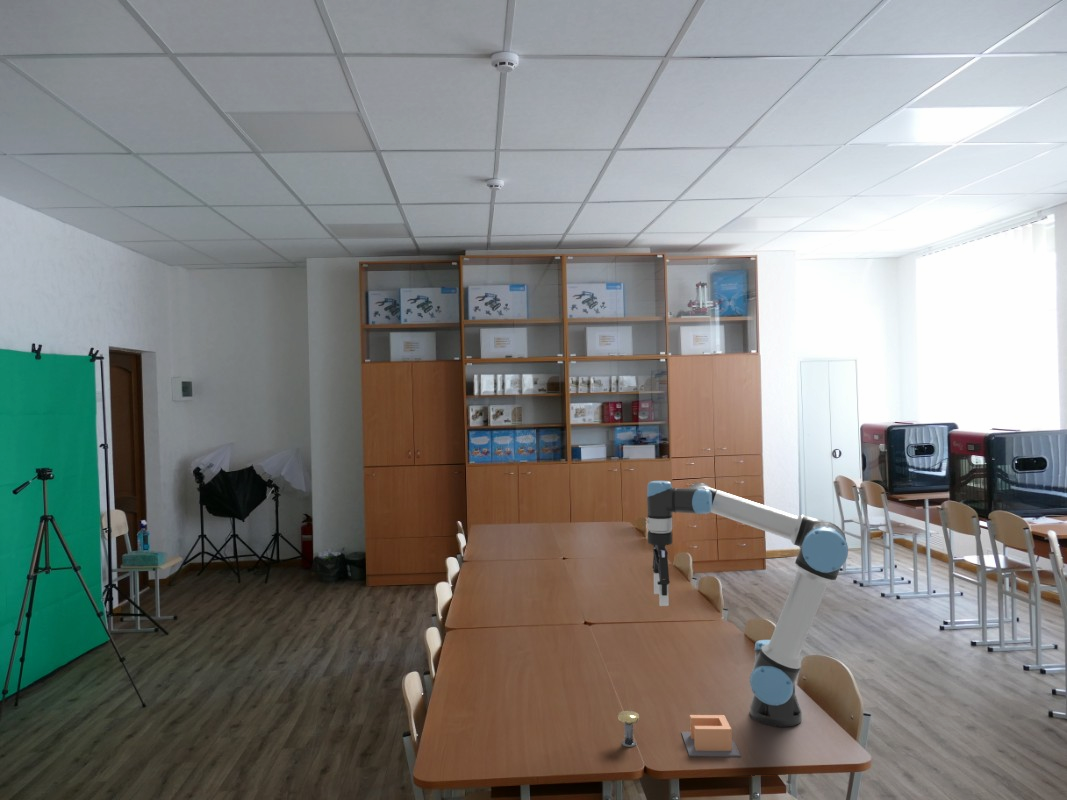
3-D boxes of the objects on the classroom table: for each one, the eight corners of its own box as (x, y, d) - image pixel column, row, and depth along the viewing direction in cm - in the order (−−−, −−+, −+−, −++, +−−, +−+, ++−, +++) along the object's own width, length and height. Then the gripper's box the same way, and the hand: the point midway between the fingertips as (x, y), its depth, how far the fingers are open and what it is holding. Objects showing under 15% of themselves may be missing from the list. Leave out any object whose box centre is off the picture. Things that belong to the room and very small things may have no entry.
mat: (729, 733, 210) (729, 731, 210) (740, 756, 196) (740, 755, 196) (681, 733, 211) (681, 731, 211) (689, 756, 197) (689, 754, 197)
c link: (724, 735, 208) (724, 715, 208) (731, 750, 199) (731, 729, 199) (690, 735, 208) (689, 715, 208) (695, 750, 199) (695, 729, 199)
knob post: (638, 739, 207) (637, 710, 208) (640, 748, 201) (640, 719, 202) (617, 738, 208) (617, 710, 208) (619, 748, 202) (618, 719, 202)
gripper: (643, 524, 234) (644, 589, 234) (652, 538, 209) (653, 611, 209) (666, 524, 234) (667, 589, 234) (678, 538, 209) (679, 610, 209)
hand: (661, 599), depth 221 cm, fingers open, 13 cm apart
